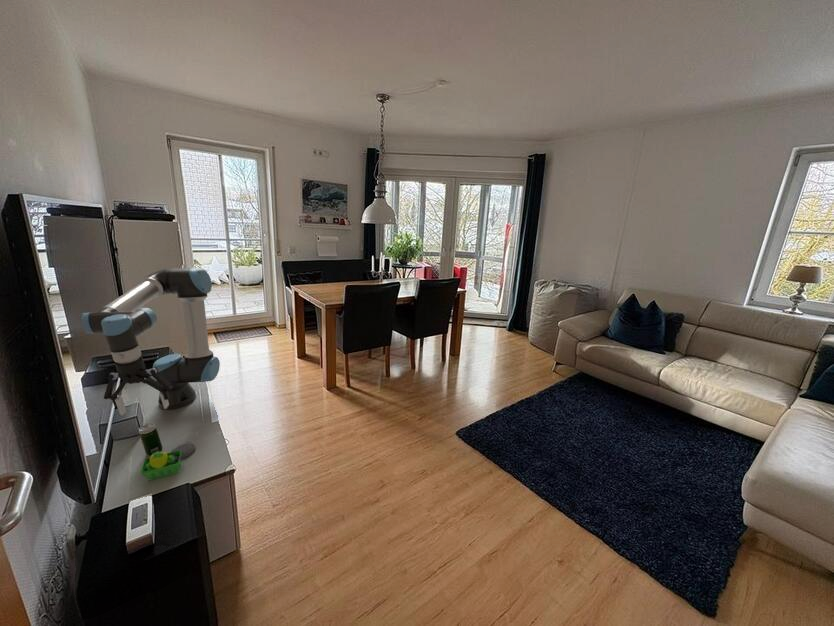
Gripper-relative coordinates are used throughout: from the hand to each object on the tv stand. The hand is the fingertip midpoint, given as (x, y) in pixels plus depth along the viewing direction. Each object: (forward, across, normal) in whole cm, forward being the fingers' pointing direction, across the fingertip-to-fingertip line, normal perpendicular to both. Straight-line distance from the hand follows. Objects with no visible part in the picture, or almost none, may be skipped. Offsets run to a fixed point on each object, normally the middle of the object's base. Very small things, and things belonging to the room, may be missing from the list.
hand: (145, 409), depth 127 cm
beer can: (+22, -3, +4) cm, 23 cm away
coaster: (+22, +8, 0) cm, 23 cm away
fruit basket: (+22, +4, -9) cm, 25 cm away
